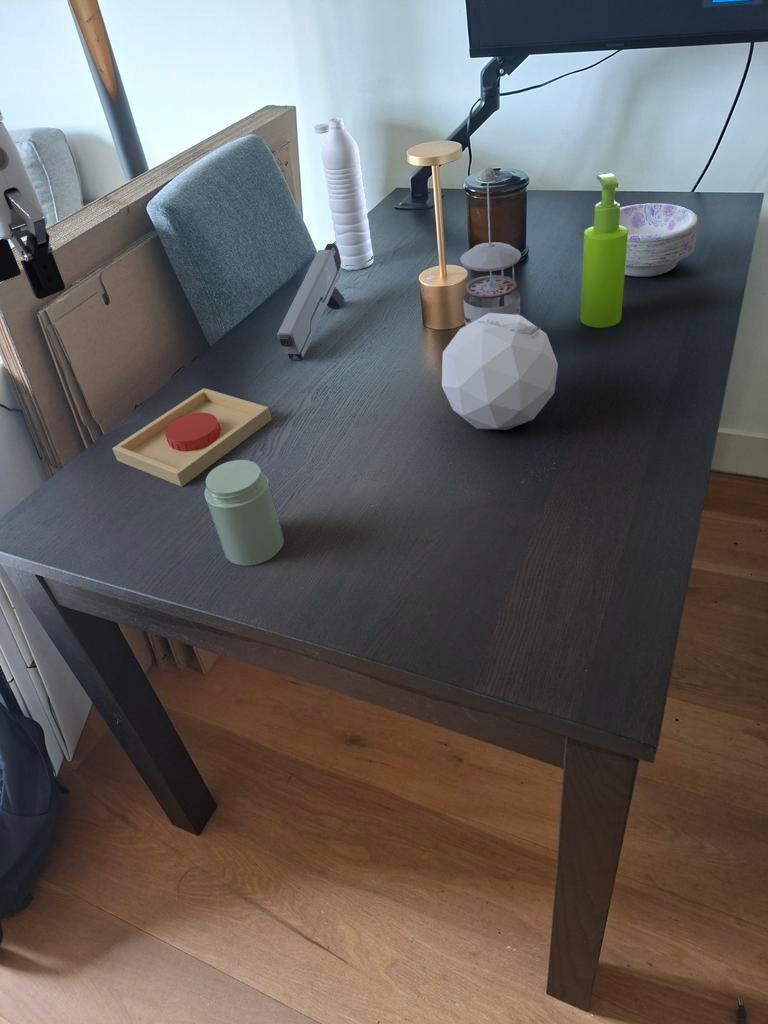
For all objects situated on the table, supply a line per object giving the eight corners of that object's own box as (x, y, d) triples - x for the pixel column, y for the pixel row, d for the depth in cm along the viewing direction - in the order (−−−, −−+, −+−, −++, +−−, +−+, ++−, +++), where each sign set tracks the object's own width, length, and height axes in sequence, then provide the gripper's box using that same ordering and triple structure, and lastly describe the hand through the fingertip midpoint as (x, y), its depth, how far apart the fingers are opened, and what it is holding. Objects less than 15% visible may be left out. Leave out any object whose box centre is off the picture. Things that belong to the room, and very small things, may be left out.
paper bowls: (594, 286, 123) (597, 237, 118) (596, 250, 134) (599, 204, 129) (695, 284, 119) (702, 233, 114) (688, 247, 130) (695, 200, 125)
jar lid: (205, 416, 104) (201, 406, 103) (230, 434, 100) (227, 424, 99) (159, 438, 101) (155, 428, 100) (183, 458, 97) (180, 447, 96)
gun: (351, 286, 131) (338, 235, 124) (308, 387, 117) (290, 336, 109) (338, 286, 132) (324, 235, 124) (293, 386, 118) (274, 335, 110)
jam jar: (255, 573, 79) (233, 503, 73) (211, 553, 82) (186, 484, 76) (296, 536, 83) (278, 466, 77) (252, 518, 86) (232, 450, 80)
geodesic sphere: (595, 351, 94) (524, 262, 89) (586, 413, 84) (505, 316, 79) (500, 410, 103) (431, 332, 98) (482, 472, 93) (404, 388, 88)
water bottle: (351, 256, 146) (329, 113, 131) (380, 258, 143) (361, 113, 128) (326, 274, 141) (301, 127, 125) (356, 277, 138) (334, 127, 122)
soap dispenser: (615, 305, 116) (625, 168, 104) (624, 325, 111) (636, 183, 98) (576, 309, 117) (581, 173, 104) (583, 329, 112) (590, 188, 99)
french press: (448, 361, 109) (435, 179, 93) (478, 325, 117) (471, 152, 101) (513, 369, 105) (511, 181, 89) (540, 332, 113) (542, 152, 97)
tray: (181, 487, 93) (177, 473, 91) (117, 460, 99) (111, 448, 98) (272, 419, 102) (268, 407, 101) (207, 399, 109) (203, 387, 108)
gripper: (36, 103, 68) (101, 287, 79) (-45, 98, 78) (22, 262, 89) (-44, 123, 64) (35, 314, 75) (-119, 115, 74) (-40, 285, 84)
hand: (28, 286), depth 82 cm, fingers open, 9 cm apart
